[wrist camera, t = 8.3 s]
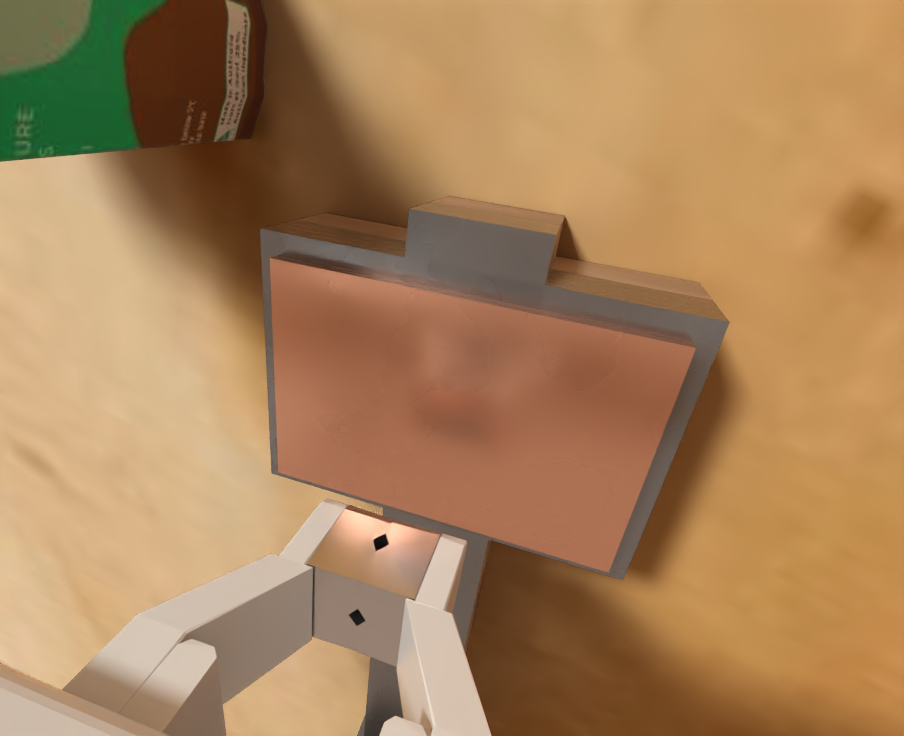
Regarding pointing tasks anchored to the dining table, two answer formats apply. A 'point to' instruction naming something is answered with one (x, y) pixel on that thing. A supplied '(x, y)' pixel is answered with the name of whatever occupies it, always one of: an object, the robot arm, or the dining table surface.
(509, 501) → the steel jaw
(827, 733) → the dining table surface
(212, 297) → the dining table surface
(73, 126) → the food container
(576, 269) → the walnut jaw
